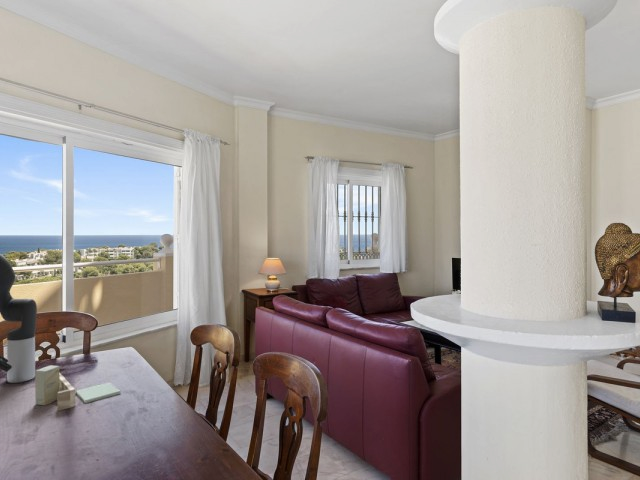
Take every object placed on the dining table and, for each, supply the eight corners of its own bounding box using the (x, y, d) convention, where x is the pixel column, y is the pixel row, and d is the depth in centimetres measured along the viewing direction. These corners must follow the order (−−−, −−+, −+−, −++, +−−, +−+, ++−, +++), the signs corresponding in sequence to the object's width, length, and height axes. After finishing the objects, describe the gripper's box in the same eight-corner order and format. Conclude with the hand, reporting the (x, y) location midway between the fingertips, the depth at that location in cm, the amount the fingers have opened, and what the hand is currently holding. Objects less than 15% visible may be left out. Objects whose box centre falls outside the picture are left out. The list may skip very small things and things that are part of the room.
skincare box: (45, 405, 137) (44, 371, 137) (34, 404, 138) (34, 370, 138) (60, 398, 144) (60, 365, 143) (50, 397, 144) (50, 364, 144)
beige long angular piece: (44, 391, 149) (44, 375, 149) (59, 387, 153) (59, 372, 153) (58, 410, 134) (58, 393, 134) (75, 406, 137) (75, 389, 137)
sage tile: (75, 393, 148) (75, 390, 148) (109, 384, 157) (109, 382, 156) (84, 403, 140) (84, 400, 140) (120, 393, 148) (120, 390, 148)
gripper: (-26, 333, 121) (21, 361, 129) (-30, 325, 131) (14, 352, 139) (-49, 354, 117) (0, 381, 126) (-51, 344, 127) (-5, 370, 136)
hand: (7, 366), depth 133 cm, fingers open, 8 cm apart
